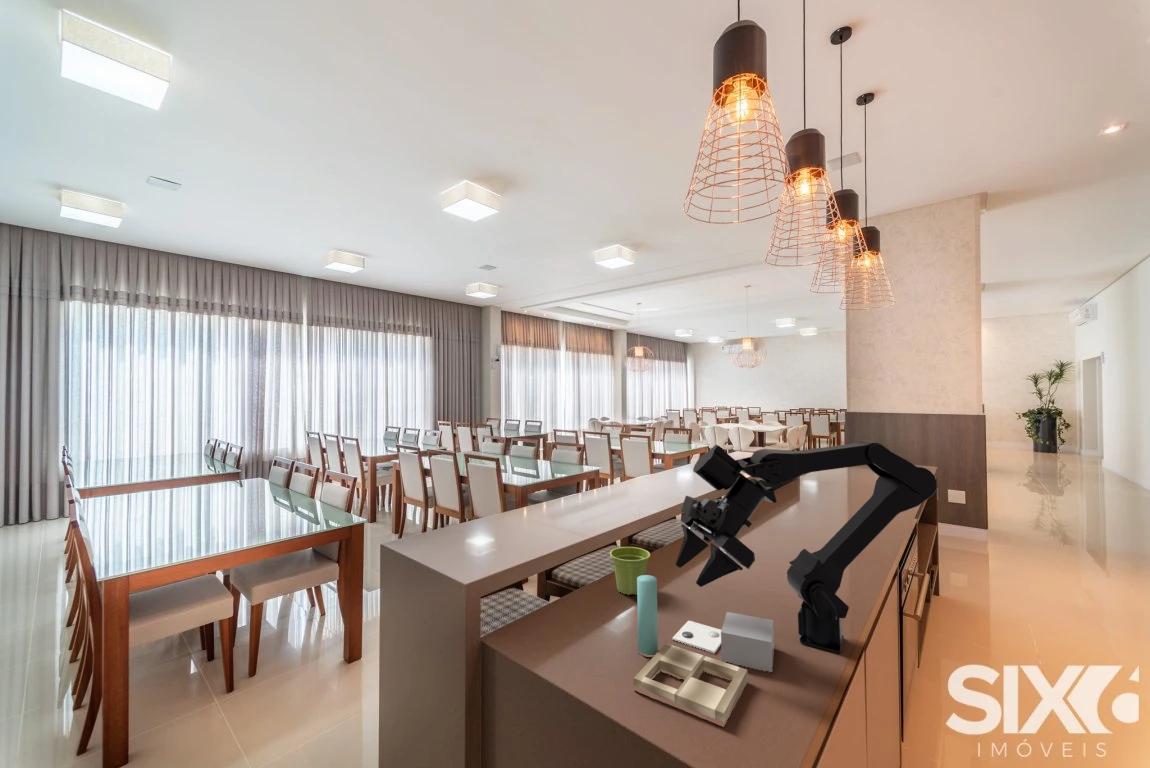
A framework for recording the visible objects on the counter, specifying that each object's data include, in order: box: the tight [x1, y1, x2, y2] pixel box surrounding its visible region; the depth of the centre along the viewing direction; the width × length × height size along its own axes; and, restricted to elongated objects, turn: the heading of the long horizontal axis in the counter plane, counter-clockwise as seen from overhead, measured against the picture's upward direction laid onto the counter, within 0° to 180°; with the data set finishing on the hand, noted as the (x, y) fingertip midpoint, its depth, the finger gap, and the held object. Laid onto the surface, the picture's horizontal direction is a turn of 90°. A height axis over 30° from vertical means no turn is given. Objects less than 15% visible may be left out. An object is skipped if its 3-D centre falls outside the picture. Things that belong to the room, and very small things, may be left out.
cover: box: [720, 611, 775, 673], centre depth 81 cm, size 8×8×5 cm
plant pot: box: [609, 546, 651, 596], centre depth 108 cm, size 9×9×9 cm
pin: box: [636, 574, 659, 655], centre depth 82 cm, size 4×4×13 cm
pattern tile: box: [671, 620, 722, 654], centre depth 87 cm, size 8×8×1 cm
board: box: [633, 643, 749, 723], centre depth 72 cm, size 14×12×2 cm
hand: (687, 575), depth 83 cm, fingers open, 9 cm apart
